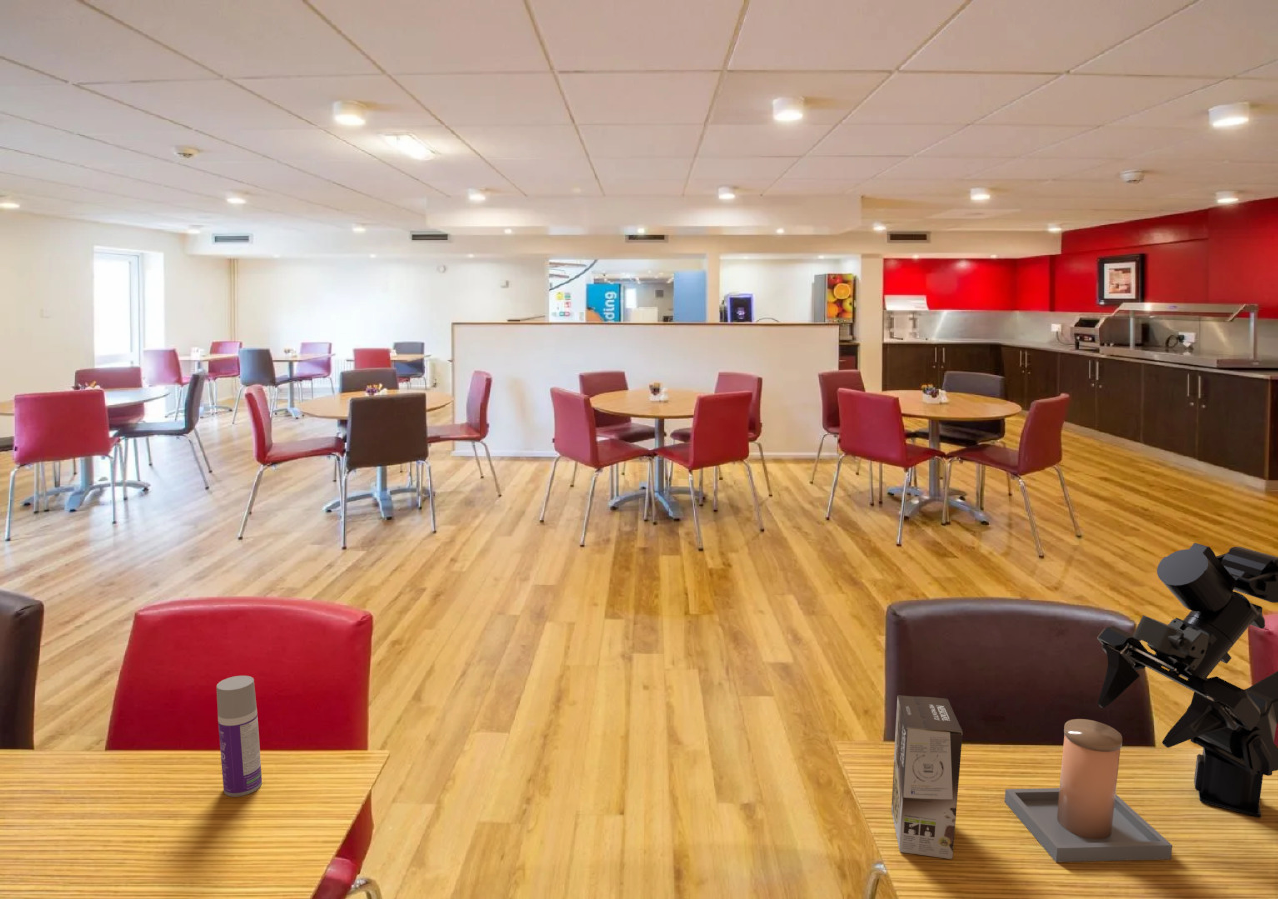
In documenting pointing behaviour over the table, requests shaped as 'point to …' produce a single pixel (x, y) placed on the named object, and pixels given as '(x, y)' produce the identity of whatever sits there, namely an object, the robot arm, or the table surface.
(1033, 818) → the tray
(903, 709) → the coffee box
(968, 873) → the table surface
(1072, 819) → the brown and pink cylinder
